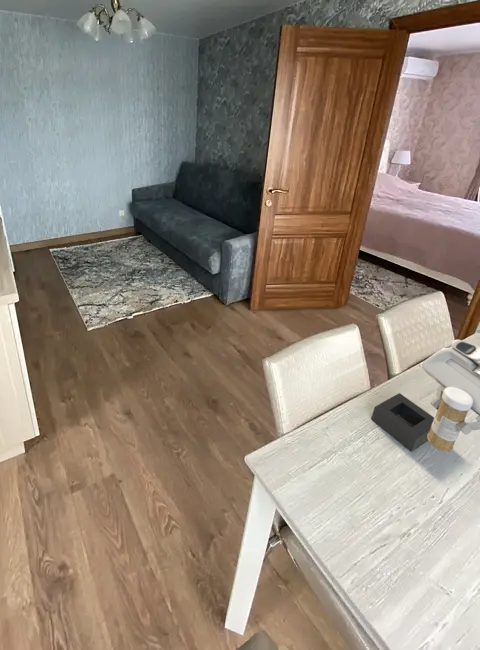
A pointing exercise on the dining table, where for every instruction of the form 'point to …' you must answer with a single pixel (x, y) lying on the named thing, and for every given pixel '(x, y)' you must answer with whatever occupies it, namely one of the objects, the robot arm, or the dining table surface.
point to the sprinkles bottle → (449, 418)
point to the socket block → (398, 428)
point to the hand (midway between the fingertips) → (446, 418)
